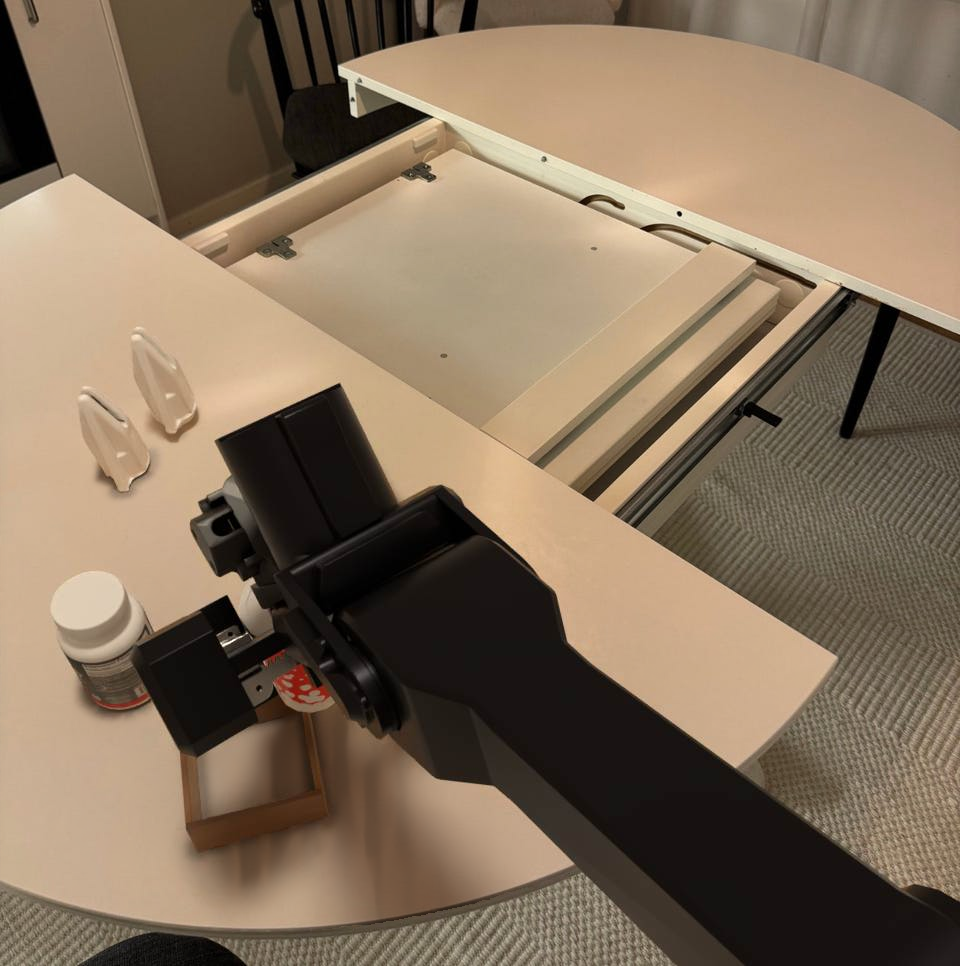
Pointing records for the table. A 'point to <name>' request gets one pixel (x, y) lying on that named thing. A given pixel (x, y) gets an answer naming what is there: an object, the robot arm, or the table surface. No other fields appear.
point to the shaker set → (113, 428)
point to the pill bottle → (101, 636)
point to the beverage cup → (293, 683)
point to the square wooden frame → (262, 815)
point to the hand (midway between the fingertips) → (286, 602)
